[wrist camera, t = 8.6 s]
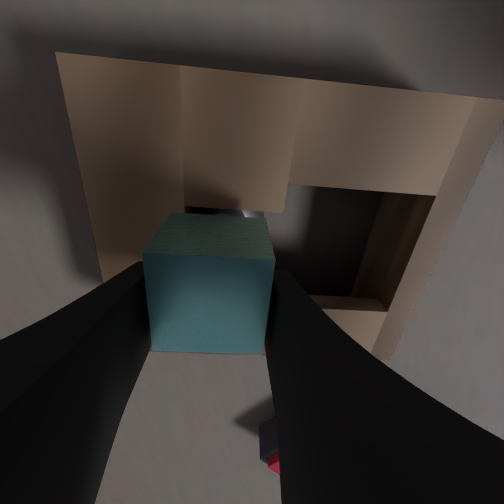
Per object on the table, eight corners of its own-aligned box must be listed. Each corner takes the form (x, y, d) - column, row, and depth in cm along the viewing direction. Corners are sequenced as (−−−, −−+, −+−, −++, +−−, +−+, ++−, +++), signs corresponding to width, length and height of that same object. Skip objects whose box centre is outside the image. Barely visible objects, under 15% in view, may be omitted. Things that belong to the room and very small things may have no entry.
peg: (266, 177, 14) (294, 246, 6) (258, 249, 15) (274, 364, 8) (185, 171, 13) (122, 235, 6) (187, 244, 15) (139, 360, 8)
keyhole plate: (434, 102, 12) (512, 100, 9) (360, 309, 18) (390, 360, 14) (113, 69, 11) (54, 52, 8) (143, 299, 17) (117, 350, 13)
